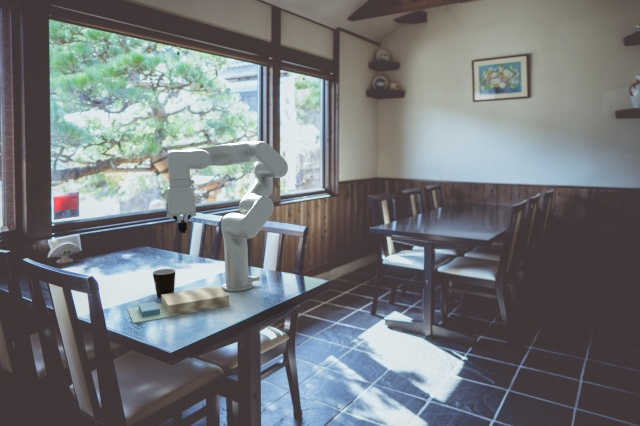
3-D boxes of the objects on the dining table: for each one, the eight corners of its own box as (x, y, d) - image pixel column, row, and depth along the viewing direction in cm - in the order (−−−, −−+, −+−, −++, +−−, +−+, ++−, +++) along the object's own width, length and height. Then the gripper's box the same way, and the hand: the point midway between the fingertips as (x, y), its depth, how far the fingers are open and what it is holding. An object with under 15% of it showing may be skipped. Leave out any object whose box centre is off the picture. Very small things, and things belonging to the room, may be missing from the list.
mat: (161, 304, 185) (161, 303, 185) (169, 317, 171) (169, 316, 170) (127, 309, 179) (127, 308, 179) (133, 323, 165) (133, 322, 165)
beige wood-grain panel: (218, 295, 194) (218, 286, 193) (229, 305, 182) (229, 295, 181) (161, 304, 184) (161, 294, 183) (168, 316, 171) (168, 305, 171)
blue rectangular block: (138, 304, 177) (138, 309, 178) (142, 311, 170) (142, 317, 170) (155, 301, 180) (155, 306, 181) (159, 308, 172) (160, 314, 173)
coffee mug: (173, 299, 190) (171, 274, 189) (151, 299, 190) (149, 274, 189) (181, 290, 202) (180, 266, 200) (160, 290, 202) (159, 267, 200)
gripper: (197, 182, 187) (200, 229, 190) (157, 184, 180) (160, 233, 183) (202, 183, 180) (204, 232, 183) (160, 185, 174) (164, 236, 176)
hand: (182, 232), depth 183 cm, fingers closed
